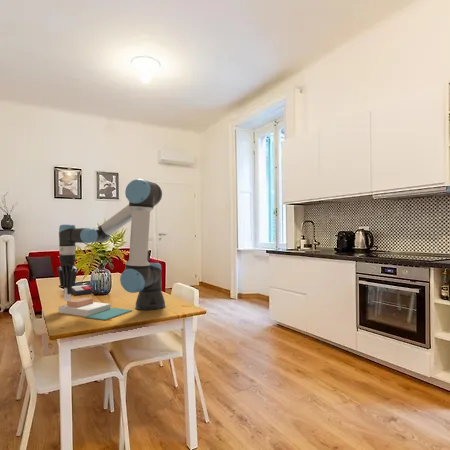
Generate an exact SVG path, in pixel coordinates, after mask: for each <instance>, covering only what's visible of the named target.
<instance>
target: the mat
mask: <svg viewBox="0 0 450 450" xmlns="http://www.w3.org/2000/svg"><path fill="white" fill-rule="evenodd" d="M130 312H133V310H132V309H125V308H119V307H118V308H117V307H111V309H108V310H105V311H102V312H99V313H96V314H92V315H89V316H84V317H85V319H90V320H91V319H93V320H98V321H99V320H100V321H107V320H110V319H114V318H116V317H119V316H122V315H125V314H128V313H130Z"/></svg>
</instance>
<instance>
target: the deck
mask: <svg viewBox="0 0 450 450" xmlns="http://www.w3.org/2000/svg"><path fill="white" fill-rule="evenodd" d="M111 308H112V305H111V303H105V302H98V301H97V302H96V301H93V303H92V304H89V305H85V306H81V307H78V308H77V307H69V306H67V304H64V305H60V306H58V313H59V314H67V315H73V316H81V317H86V316H89V315H92V314H96V313H99V312H102V311H105V310H108V309H111Z"/></svg>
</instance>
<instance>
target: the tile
mask: <svg viewBox="0 0 450 450" xmlns="http://www.w3.org/2000/svg"><path fill="white" fill-rule="evenodd" d="M93 302H94V298H93V297H86V296H82V297H79V298H75V299H71V300H68V301H66V305H67V306H69V307H77V308H78V307H81V306H85V305H89V304H92V303H93Z"/></svg>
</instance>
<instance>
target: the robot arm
mask: <svg viewBox="0 0 450 450" xmlns="http://www.w3.org/2000/svg"><path fill="white" fill-rule="evenodd" d="M124 192H125V193H124V194H125V198H126V199H127V201H128V202H129V203H128V205H126V206H124V208H122V209H121V210H119V211H117V213H115V214H114V215H113V216H111V217H110V218H108V219H107V220H106V221H104V222H103V223H102V224H100V225H99V226H97V227H78V228H76V225H75V224H60V225H59V227H58V229H59V230H58V240H59V241H58V242H59V244H58V245H59V246H58V248H59V251H58V252H59V253H58V254H59V255H58V260H59V261H58V262H59V263H60V265H59V267H56V270H57V272H58V278H59V283H60V287H63V294H64V295H63V296H64V297H63V299H64V301H65V302H67V301H70V300H72V293H71V288H72V287H73V286H76V279H77V275H78V271H79V267H76V266H75V262H76V244H92V243H103V242H107V241H108V240H109V239H110V238H111V235H113V234H114V233H117V231H118V230H120V229H121V228H123V227H124V226H126V225H127V224H128V223H130V224H131V225H130V237H129V239H130V242H129V257H128V260H127V261H126V262H125V267H124V270H123V272H121V274H120V276H119V282H120V285H121V287H122V288H123V290H124V291H125V292H128V293H131V294H134V293H138V294H137V298H136V301H135V309H137V310H143V311H149V310H150V311H151V310H159V309H163V308H165V306H166V301H165V297H164V295H163V290H162V287H163V286H162V283H163V282H162V271H163V269H162V264H161V263H159V262H149V261H148V253H149V235H150V222H151V220H150V218H151V212H152V210H154V209H155V208H154V207H155V206H157V205H158V204H159V203H160V202H161V200H162V197H163V190H162V188H161V187H160V186H159V184H157V183H156V182H152V181H148V180H146V179H142V178H135V179H133V180H131V181H130V182H128V183H127V186H126V187H125V190H124Z"/></svg>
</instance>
